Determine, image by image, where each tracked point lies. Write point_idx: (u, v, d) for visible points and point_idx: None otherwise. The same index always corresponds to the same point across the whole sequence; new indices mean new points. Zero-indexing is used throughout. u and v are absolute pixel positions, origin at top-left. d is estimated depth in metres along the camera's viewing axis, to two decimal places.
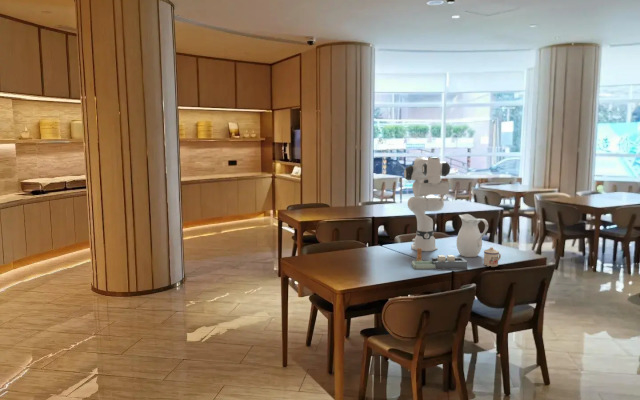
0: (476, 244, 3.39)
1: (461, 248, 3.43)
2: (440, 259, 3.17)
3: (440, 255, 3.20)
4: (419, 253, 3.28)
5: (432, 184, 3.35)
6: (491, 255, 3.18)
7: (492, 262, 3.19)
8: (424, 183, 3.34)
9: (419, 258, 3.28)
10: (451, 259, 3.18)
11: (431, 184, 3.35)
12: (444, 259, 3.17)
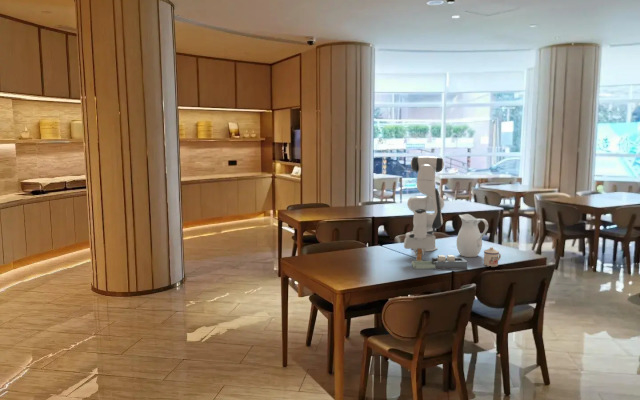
0: (476, 244, 3.39)
1: (461, 248, 3.43)
2: (440, 259, 3.17)
3: (440, 255, 3.20)
4: (419, 253, 3.28)
5: (418, 239, 3.25)
6: (491, 255, 3.18)
7: (492, 262, 3.19)
8: (410, 238, 3.24)
9: (419, 258, 3.28)
10: (451, 259, 3.18)
11: (417, 238, 3.25)
12: (444, 259, 3.17)
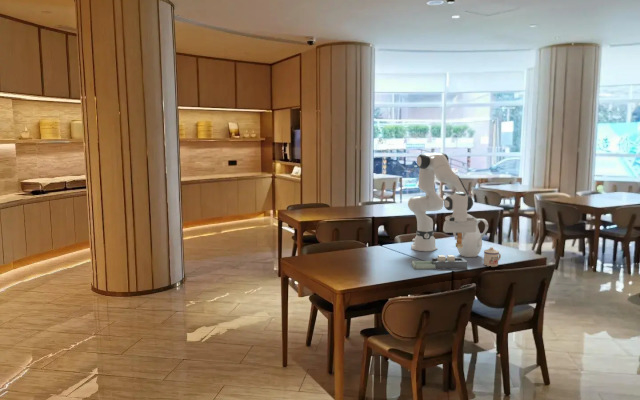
0: (476, 244, 3.39)
1: (461, 248, 3.43)
2: (440, 259, 3.17)
3: (440, 255, 3.20)
4: (459, 237, 3.16)
5: (458, 222, 3.14)
6: (491, 255, 3.18)
7: (492, 262, 3.19)
8: (450, 221, 3.13)
9: (459, 242, 3.17)
10: (451, 259, 3.18)
11: (457, 222, 3.14)
12: (444, 259, 3.17)
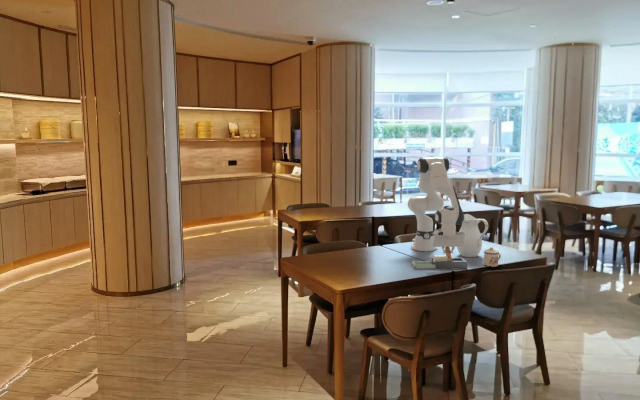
0: (476, 244, 3.39)
1: (461, 248, 3.43)
2: (436, 259, 3.17)
3: (436, 255, 3.20)
4: (448, 252, 3.18)
5: (446, 236, 3.15)
6: (491, 255, 3.18)
7: (492, 262, 3.19)
8: (438, 235, 3.14)
9: (449, 257, 3.18)
10: (444, 259, 3.17)
11: (446, 236, 3.15)
12: (440, 259, 3.17)
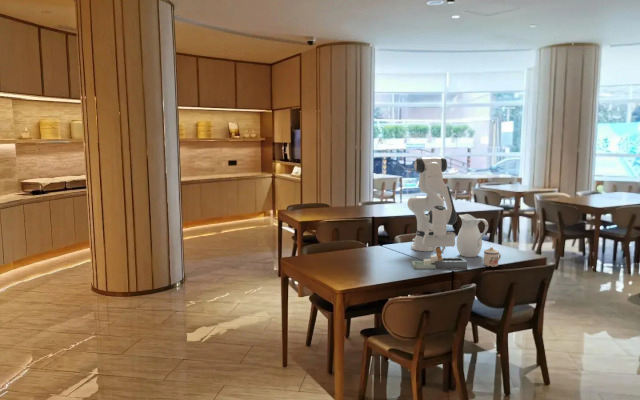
0: (476, 244, 3.39)
1: (461, 248, 3.43)
2: None
3: None
4: (438, 252, 3.17)
5: (437, 236, 3.15)
6: (491, 255, 3.18)
7: (492, 262, 3.19)
8: (429, 235, 3.14)
9: (439, 257, 3.18)
10: (434, 259, 3.17)
11: (436, 236, 3.15)
12: (428, 261, 3.17)
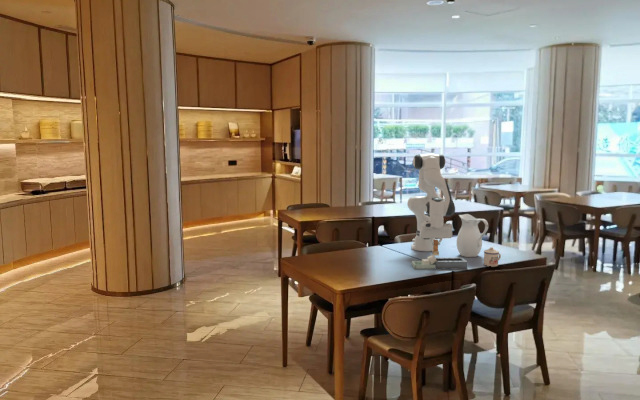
0: (476, 244, 3.39)
1: (461, 248, 3.43)
2: None
3: (422, 263, 3.20)
4: (435, 245, 3.17)
5: (434, 228, 3.14)
6: (491, 255, 3.18)
7: (492, 262, 3.19)
8: (426, 227, 3.14)
9: (435, 250, 3.18)
10: (432, 259, 3.17)
11: (433, 228, 3.14)
12: (426, 261, 3.17)
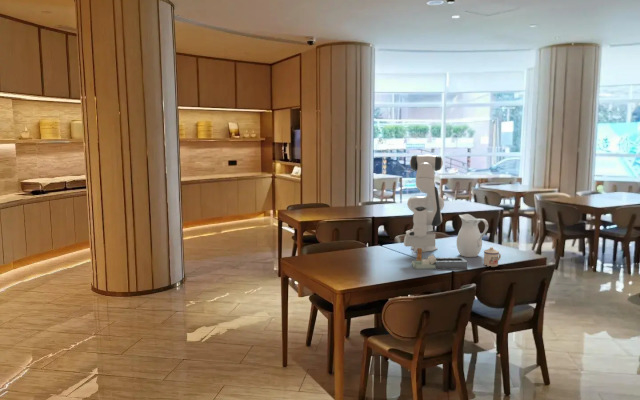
0: (476, 244, 3.39)
1: (461, 248, 3.43)
2: None
3: (422, 263, 3.20)
4: (419, 253, 3.28)
5: (418, 236, 3.25)
6: (491, 255, 3.18)
7: (492, 262, 3.19)
8: (410, 235, 3.24)
9: (419, 258, 3.28)
10: (432, 259, 3.17)
11: (417, 236, 3.25)
12: (426, 261, 3.17)
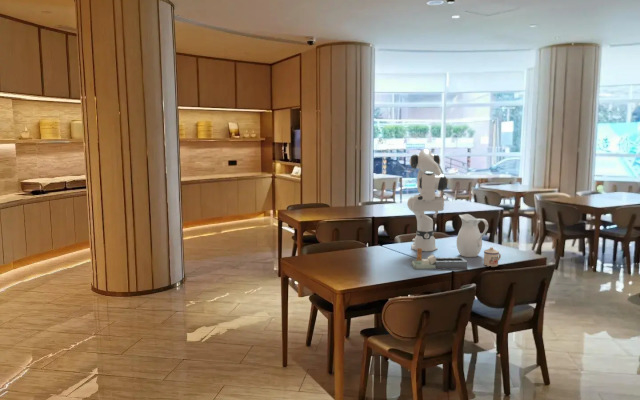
0: (476, 244, 3.39)
1: (461, 248, 3.43)
2: None
3: (422, 263, 3.20)
4: (419, 253, 3.28)
5: (426, 201, 3.27)
6: (491, 255, 3.18)
7: (492, 262, 3.19)
8: (418, 200, 3.26)
9: (419, 258, 3.28)
10: (432, 259, 3.17)
11: (425, 200, 3.27)
12: (426, 261, 3.17)
